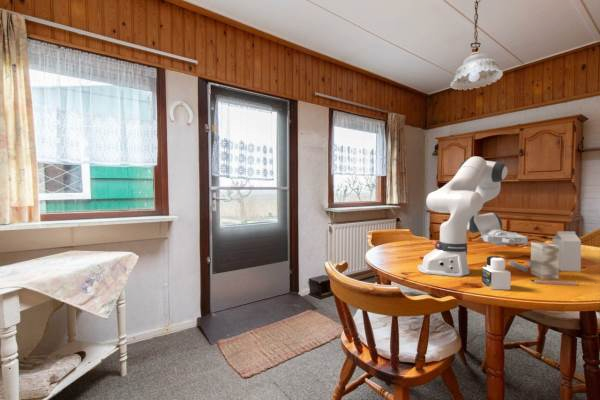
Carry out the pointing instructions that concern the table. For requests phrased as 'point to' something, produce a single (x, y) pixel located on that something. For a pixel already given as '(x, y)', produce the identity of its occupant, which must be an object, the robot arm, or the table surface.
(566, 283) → the chute
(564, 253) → the milk carton
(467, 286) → the table surface
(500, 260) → the medicine bottle
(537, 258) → the block
